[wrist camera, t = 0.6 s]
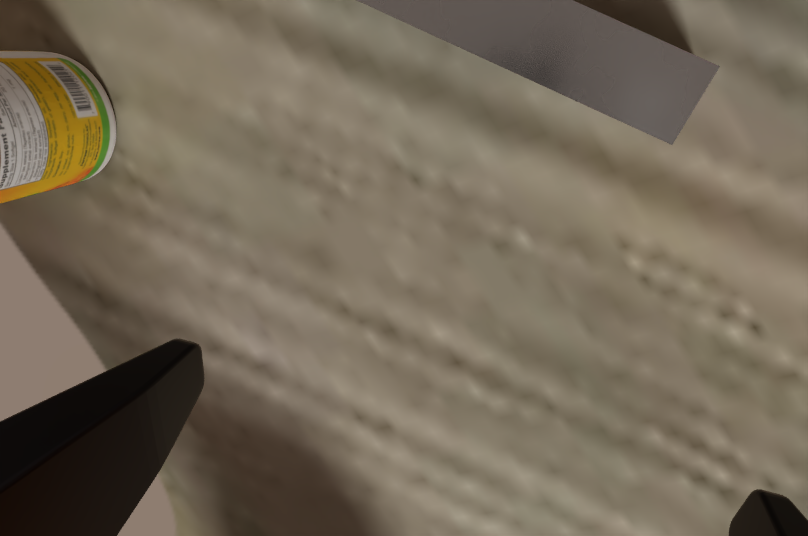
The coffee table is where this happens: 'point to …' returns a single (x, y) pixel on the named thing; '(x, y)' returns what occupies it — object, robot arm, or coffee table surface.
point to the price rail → (572, 55)
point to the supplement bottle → (50, 123)
